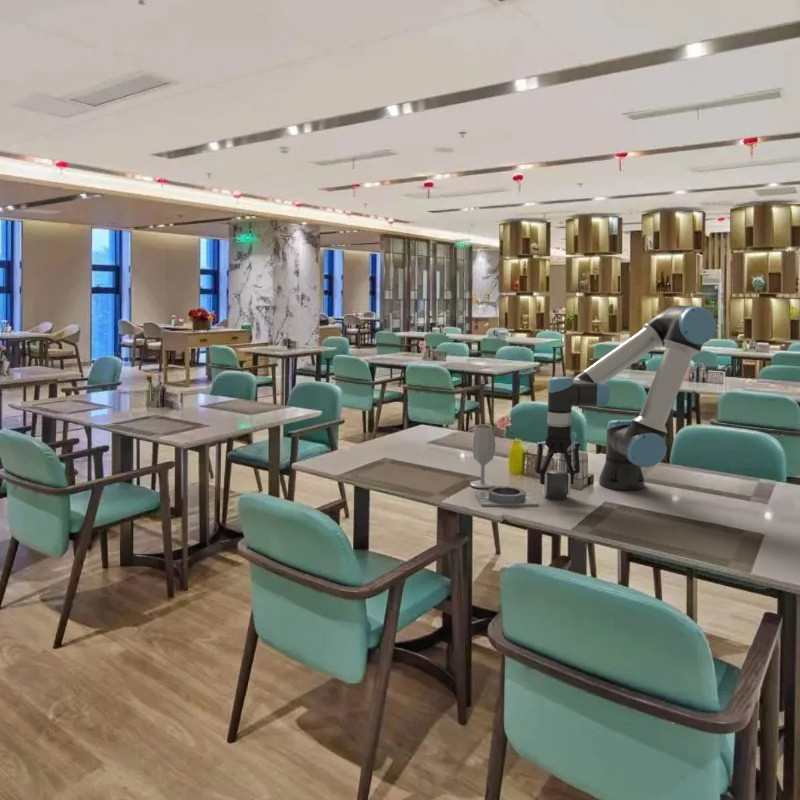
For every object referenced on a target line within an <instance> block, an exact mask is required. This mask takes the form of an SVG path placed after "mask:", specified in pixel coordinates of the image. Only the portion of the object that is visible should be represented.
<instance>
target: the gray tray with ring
mask: <svg viewBox="0 0 800 800" xmlns="http://www.w3.org/2000/svg"><path fill="white" fill-rule="evenodd" d="M475 496H476V498H477V500H478V502H479V504H480V506H481V507H539V502H538V500H537V499H536V498H535V497H534V496H533V495H532V493H531V492H530V491H528V492H526V491H525V490H524V489H522V488H520V487H516V486H507V485H506V486H505V485H501V486H495V487H492V488H488V489H487V491H486V492H485V491H483V492H482V491H481V492H478V491H477V492H475Z"/></svg>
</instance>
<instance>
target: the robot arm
mask: <svg viewBox="0 0 800 800" xmlns="http://www.w3.org/2000/svg"><path fill="white" fill-rule="evenodd" d="M716 327H717V323H716V320H715V317H714V316H713V314H712V312H711V311H710V310H708V309H707V308H705V307H703V306H699V305H698V306H697V305H681V304H679V305H674V306H670V307H668V308H666V309H664V310H662V311H661V312H659V313H658V314H656V315H655V316H654V317H652V318H651V319H650V320H648V321H646V322H645V323H644V324H643V325H642V329H641V330H639V331H638V332H636V333H635V334H634V335H632V336H630V337H629V338H628V339H627V340H625V341H623V342H622V343H621V344H620V345H618V346H617V347H616V348H614V349H613V350H610V352H609V353H607V354H606V355H604V356H603V357H601V358H600V359H599V360H597V361H596V362H595V363H593V364H592V365H590V366H589V367H587V368H586V369H585V370H583V371H582V372H580V373H579V374H577V375H576V376H563V375H562V376H558V375H557V376H551V377H550V378H549V381H548V389H547V417H546V418H547V421H546V422H547V425H546V438H545V440H544V441H541V442H540V441H537V442H536V447H537V451H536V457H535V464H534V472H535V473H537V474H539V483H540V485H542V494H543V495H544V496H545V495H547V475H546V472H547V471H548V468H549V466H550V463H551V460H552V458H553V456H554V455H556V454H562V456H563V459H564V462H565V465H566V468H567V471H568V472H567V473H568V485H567V496H571V485H573V484H574V479H575V478H574V477H575V475H576V474H579V473H580V472H581V470H580V469H581V467H580V454H579V451H580V450H579V449H580V447H581V446H580V443H579V442H577V441H572V440H571V433H572V431H571V430H572V427H571V424H572V412H573V410H572V407H596V408H598V407H605V406H607V405H608V404H609V402H610V400H611V390H610V387H609V385H608V384H607V382H609V381H610V380H612V379H613V378H614V377H616V376H617V375H619V374H620V373H621V372H622V371H624V370H626V369H627V368H628V367H630V366H631V365H632V364H634V363H635V362H637V361H638V360H640V359H641V358H643V357H644V356H646V355H647V354H648V353H650V352H651V351H654V349H656V348H662V347H664V346H665V349H664V352H663V353H662V357H661V360H660V361H659V365H658V368H657V370H656V373H655V375H654V378H653V380H652V382H651V384H650V387H649V390H648V392H647V395H646V397H645V399H644V402H643V405H642V407H641V411H640V412H639V415H638V416H636V417H634V418H632V419H611V420H609V421H608V422H607V428H606V440H605V441H606V447H605V463H604V465H603V467H602V470H601V471H600V475H599V478H598V481H599V483H598V484H599V485H600V486H602V487H605V488H607V489H612V490H617V491H637V490H642V489H644V488H645V476H644V473H643V470H642V468H652V467H654V466H657V465H659V463H661V462H662V461H663V459H664V458H665V456H666V454H667V445H666V442H665V439H666V436H667V434H668V430H667V428H666V423H667V422H668V420H669V416H670V413H671V411H672V408H673V405H674V403H675V401H676V398H677V397H678V393H679V391H680V389H681V387H682V383H683V381H684V379H685V377H686V374H687V372H688V369H689V366H690V364H691V363H692V362H691V361H692V359H693V357H695V355H697V354H700V353H701V350H702V348H703V346H704V344H705V343H707V342H709V341H710V340H711V339H712V338H713V337H714V335H715V333H716V329H717V328H716ZM570 446H571V447H570ZM545 447H547V448H548V449H547V453H546V456H545V457H544V458H545V459H544V461H543V459H542V458H543V455H544V454H543V453H544V449H545ZM569 448H572V458H573V459H572V460H573V465H572V461H571V459H570V456H569V452H568V449H569ZM542 461H543V463H542Z"/></svg>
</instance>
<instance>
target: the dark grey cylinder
mask: <svg viewBox="0 0 800 800" xmlns="http://www.w3.org/2000/svg"><path fill="white" fill-rule="evenodd" d="M568 473H569V472H566V471H564V470H561V469H560V470H559V469H550V470H547V471H546V475H547V495H544V497H545V498H546V499H547V500H548V499H549V500H555V501H563V500H567V498H568V495H567V485H568Z"/></svg>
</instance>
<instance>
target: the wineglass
mask: <svg viewBox="0 0 800 800" xmlns="http://www.w3.org/2000/svg"><path fill="white" fill-rule="evenodd" d="M471 450H472V451H471V452H472V455H473V459H474V460H475V461H476V462H477V463H478V464H480V480H472V481H469V483H470V487H473V488H474V489H475V488H476V489H484V490H485V489H487V490H488V489H490V488H492V487H496V485H495V482H494V481H490V480H485V475H486V474H485V472H486V470H485V469H486V465H488V464H489V463H490V462H491V461H492V460H493V459H494V456H495V453H496V437H495V431H494V428H493V426H492V425H490V424H475V427H474V429H473V434H472V439H471Z"/></svg>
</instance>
